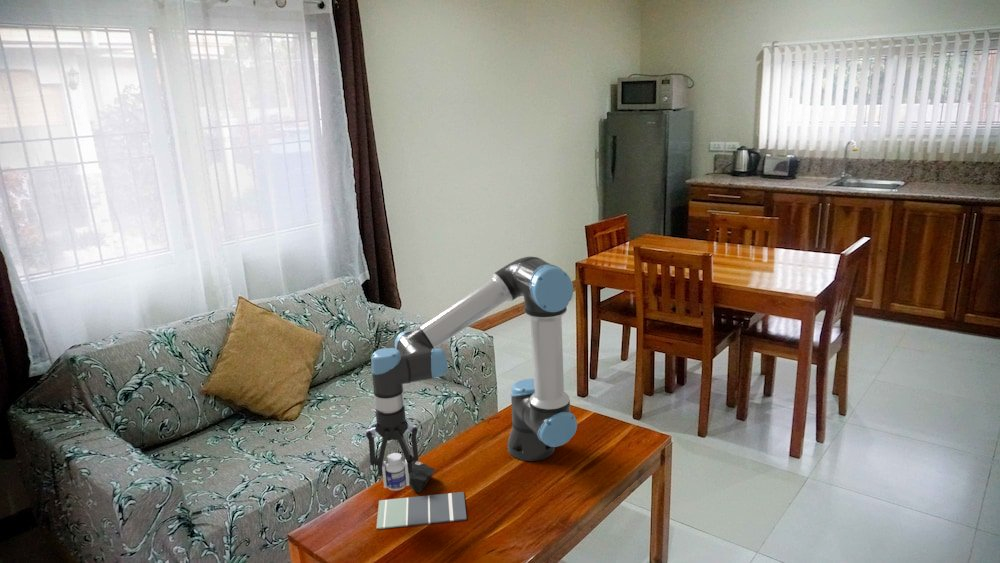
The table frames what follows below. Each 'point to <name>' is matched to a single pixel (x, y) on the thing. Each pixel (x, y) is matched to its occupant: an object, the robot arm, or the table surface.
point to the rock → (420, 475)
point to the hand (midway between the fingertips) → (396, 483)
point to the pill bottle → (395, 472)
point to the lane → (421, 510)
